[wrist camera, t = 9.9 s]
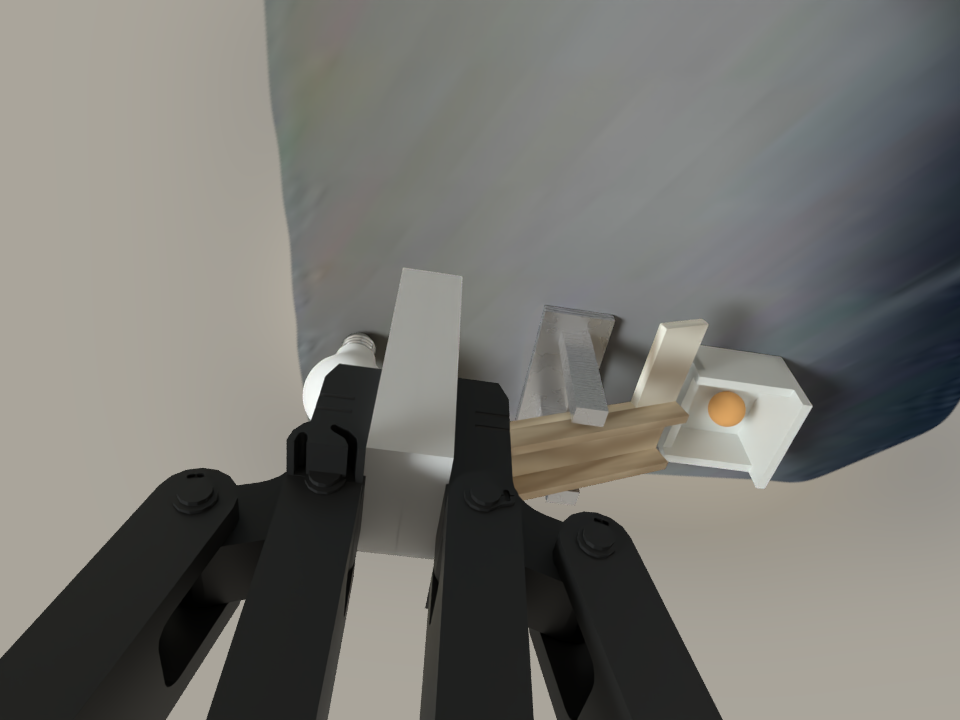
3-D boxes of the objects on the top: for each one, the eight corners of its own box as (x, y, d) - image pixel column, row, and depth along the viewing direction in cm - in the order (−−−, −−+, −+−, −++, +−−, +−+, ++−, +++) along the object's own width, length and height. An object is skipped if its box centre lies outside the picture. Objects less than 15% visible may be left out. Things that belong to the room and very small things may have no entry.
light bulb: (308, 346, 59) (277, 427, 50) (348, 294, 56) (323, 372, 47) (371, 383, 62) (352, 468, 53) (413, 336, 59) (400, 417, 50)
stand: (544, 305, 57) (557, 387, 48) (613, 315, 58) (638, 398, 48) (514, 420, 64) (520, 512, 55) (575, 428, 65) (591, 520, 56)
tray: (684, 342, 59) (706, 391, 53) (781, 356, 60) (812, 406, 54) (650, 424, 65) (667, 476, 59) (739, 436, 65) (764, 489, 60)
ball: (758, 400, 59) (729, 380, 61) (737, 410, 58) (708, 389, 60) (744, 427, 61) (716, 407, 63) (723, 438, 59) (695, 416, 61)
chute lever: (483, 333, 44) (511, 370, 41) (693, 311, 52) (729, 342, 49) (453, 479, 52) (475, 519, 49) (640, 442, 60) (668, 475, 57)
